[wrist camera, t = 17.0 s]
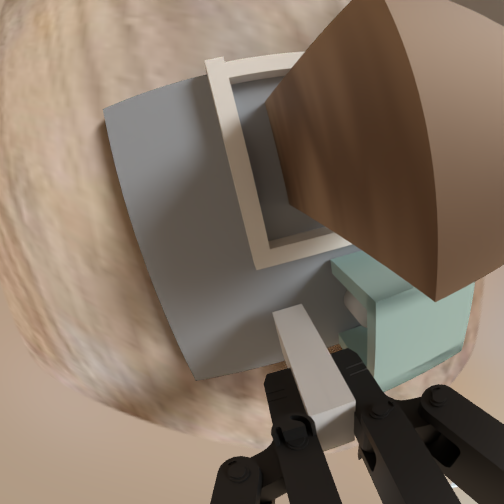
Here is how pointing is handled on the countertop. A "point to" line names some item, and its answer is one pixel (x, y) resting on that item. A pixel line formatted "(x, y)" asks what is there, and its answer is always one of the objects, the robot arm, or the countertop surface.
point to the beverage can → (485, 8)
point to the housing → (400, 321)
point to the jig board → (224, 217)
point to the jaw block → (401, 138)
